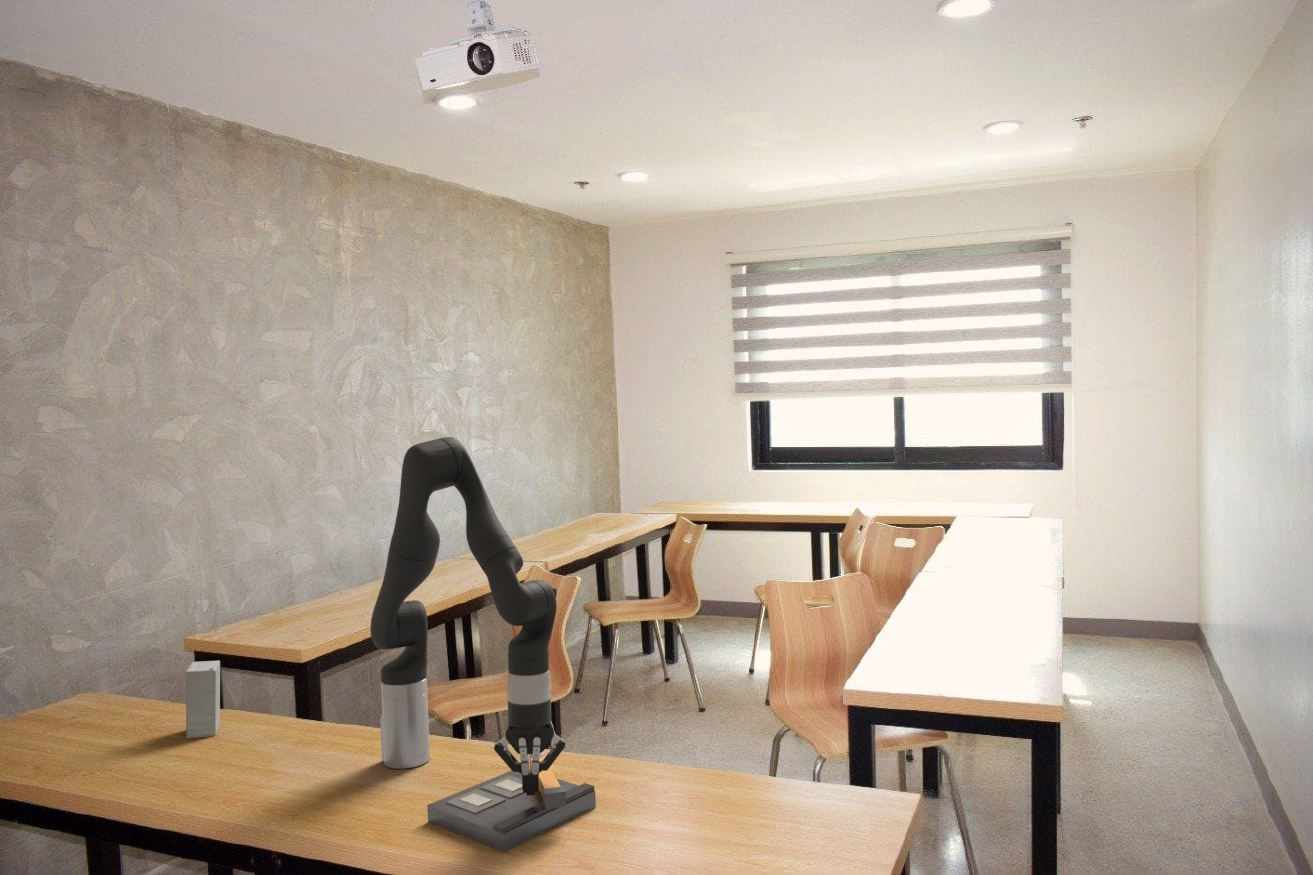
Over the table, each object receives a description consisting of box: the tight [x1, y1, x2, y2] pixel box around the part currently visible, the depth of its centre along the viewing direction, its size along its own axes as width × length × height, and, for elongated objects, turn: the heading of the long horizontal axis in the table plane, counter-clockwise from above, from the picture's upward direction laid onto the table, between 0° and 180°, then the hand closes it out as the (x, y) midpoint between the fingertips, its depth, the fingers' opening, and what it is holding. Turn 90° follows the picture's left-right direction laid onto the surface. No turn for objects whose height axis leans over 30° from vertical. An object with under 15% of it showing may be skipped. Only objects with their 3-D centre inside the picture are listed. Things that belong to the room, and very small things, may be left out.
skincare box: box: [185, 660, 221, 740], centre depth 224 cm, size 8×7×16 cm
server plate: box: [426, 769, 597, 853], centre depth 173 cm, size 20×22×4 cm
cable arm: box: [528, 751, 566, 809], centre depth 175 cm, size 4×21×3 cm, turn 16°
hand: (530, 793), depth 170 cm, fingers closed
